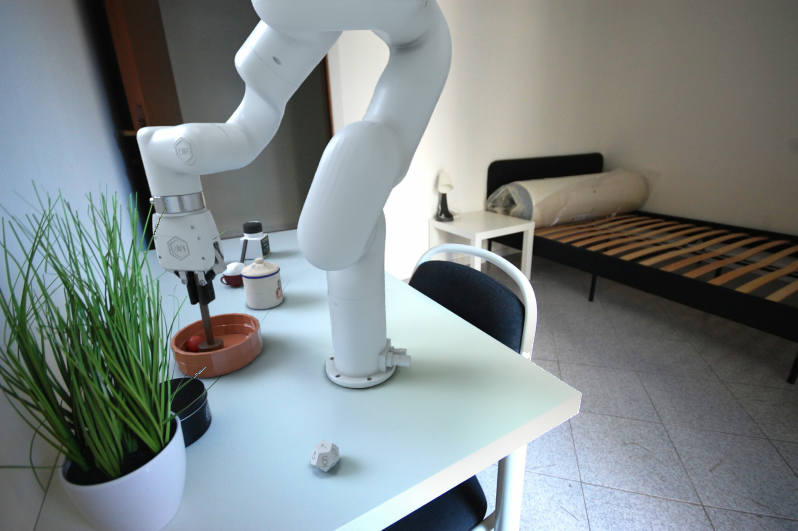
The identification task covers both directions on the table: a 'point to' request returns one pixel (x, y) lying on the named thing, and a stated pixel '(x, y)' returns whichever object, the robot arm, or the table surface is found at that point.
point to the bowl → (238, 349)
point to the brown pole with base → (207, 327)
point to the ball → (194, 343)
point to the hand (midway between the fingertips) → (203, 301)
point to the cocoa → (235, 270)
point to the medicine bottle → (255, 240)
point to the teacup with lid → (262, 284)
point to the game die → (324, 455)
